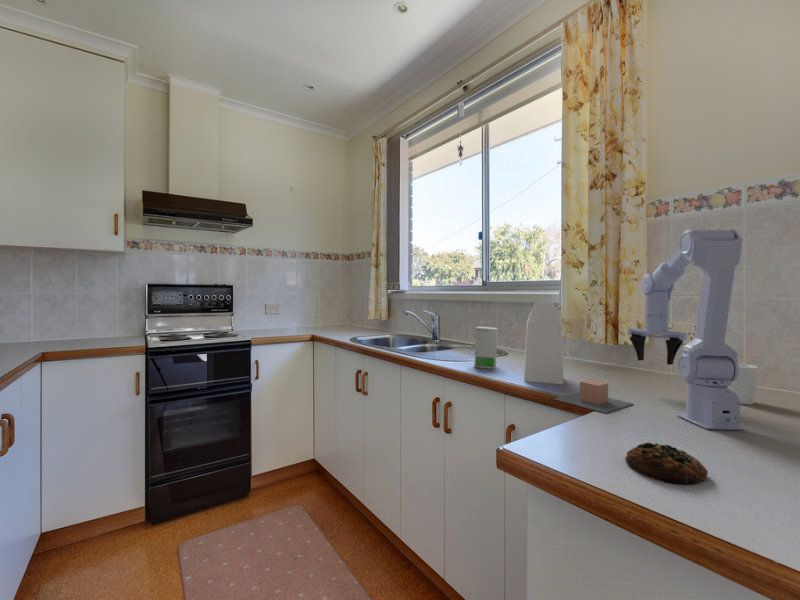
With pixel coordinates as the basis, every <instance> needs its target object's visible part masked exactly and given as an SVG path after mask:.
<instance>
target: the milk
mask: <svg viewBox="0 0 800 600" xmlns="http://www.w3.org/2000/svg"><path fill="white" fill-rule="evenodd" d="M554 303H555V302H534V304H533V306H532V308H531V310H530V313H529V316H528V319H527V322H526V330H525V331H526V332H525V333H526V334H525V347H524V348H525V349H524V362H523V363H524V366H523V380H524V381H523V382H530V383H531V382H532V383H543V384H555V385H564V357H563V356H564V355H563V353H564V352H563V330H562V329H563V328H562V322H561V320H560V316H559V314H558V311H557V308H556V306H555V304H554Z"/></svg>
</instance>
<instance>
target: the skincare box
mask: <svg viewBox="0 0 800 600" xmlns="http://www.w3.org/2000/svg"><path fill="white" fill-rule="evenodd" d="M498 329H499V328H498V327H491V326H490V327H487V326H476V327H475V347H474V365H473V366H474V368H480V369H493V370H496V367H497V354H498V353H497V351H498V349H497V348H498Z"/></svg>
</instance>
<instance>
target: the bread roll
mask: <svg viewBox="0 0 800 600" xmlns="http://www.w3.org/2000/svg"><path fill="white" fill-rule="evenodd" d="M624 458H625V461H626V463H627V464H628V466H629V467H631V468H632V469H633V470H635V471H636V472H638V473H640V474H641V475H644V476H645V477H648V478H650V479H653V480H657V481H660V482H664V483H666V484H670V485H671V484H672V485H685V484H686V485H688V486H691V485H695V484H700V483H701V481H705V480H706V479H707V476H708V470H707V468H706V467H705V466H704V465H703V463H701V462H700V460H699V459H697V458H695V457H694V456H692V455H690V454H688V453H687V452H686V451H685V450H680V449H678V448H677V447H674V446H671V445H669V444H658V443H651V442H645V443H640V444H638V445H637V446H635V447H633V448H631V449H629V451H627V452H626V456H625V457H624Z"/></svg>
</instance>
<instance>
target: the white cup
mask: <svg viewBox="0 0 800 600" xmlns="http://www.w3.org/2000/svg"><path fill="white" fill-rule="evenodd" d="M738 366H739V374H738V377H737V378H736V380H735V381H734V382H731V386H727V387H728V388H729V389H730V390H731V391H733V392H735V393H736V394H737V395H738V397H739V399H740V405H754V404H755V401H756V400H755V399H756V393H757V386H758V377H759V376H758V375H759V374H758V372H759V367H758V366H757V365H753V364H748V363H747V364H746V363H738Z"/></svg>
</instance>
